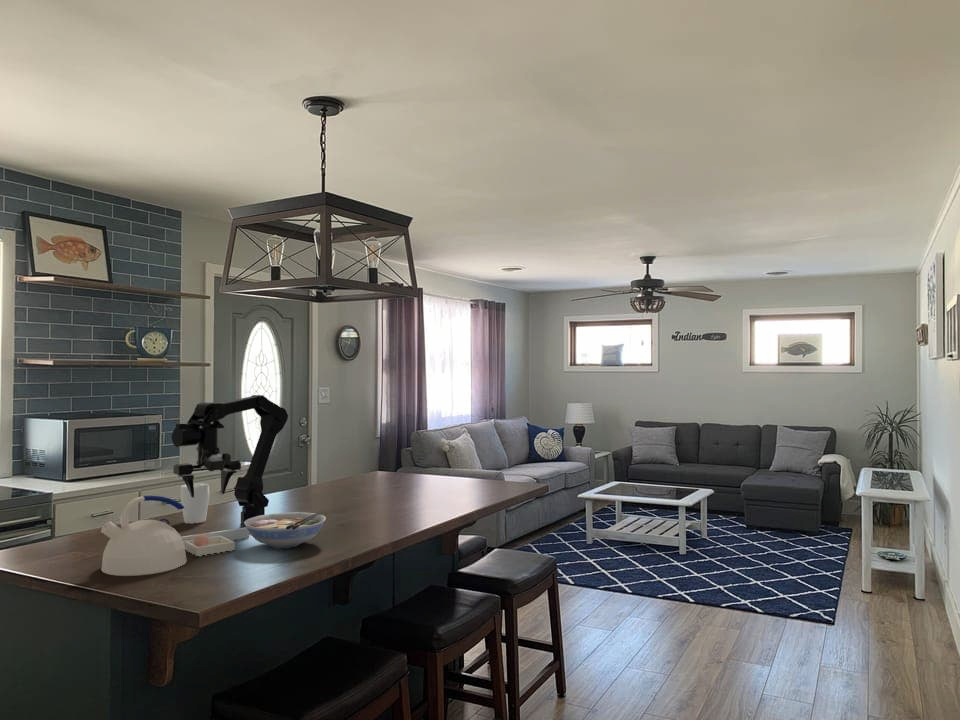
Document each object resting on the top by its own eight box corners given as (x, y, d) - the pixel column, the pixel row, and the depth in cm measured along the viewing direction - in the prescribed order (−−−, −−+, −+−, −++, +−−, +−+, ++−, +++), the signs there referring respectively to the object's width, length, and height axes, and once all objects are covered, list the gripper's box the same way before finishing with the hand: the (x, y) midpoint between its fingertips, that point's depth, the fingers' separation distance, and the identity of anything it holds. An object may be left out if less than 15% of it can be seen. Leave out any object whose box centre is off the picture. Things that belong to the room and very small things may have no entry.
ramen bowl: (267, 534, 229) (266, 507, 229) (339, 537, 226) (339, 509, 226) (226, 555, 205) (226, 525, 205) (306, 558, 201) (306, 527, 201)
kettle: (88, 566, 195) (88, 496, 195) (168, 552, 209) (168, 486, 209) (116, 582, 180) (116, 506, 180) (200, 565, 195) (200, 495, 195)
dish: (220, 543, 218) (220, 535, 218) (234, 550, 210) (234, 541, 210) (183, 549, 211) (183, 541, 211) (196, 556, 203) (196, 547, 203)
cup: (174, 523, 247) (174, 486, 248) (196, 518, 255) (196, 482, 256) (193, 525, 243) (193, 488, 243) (215, 520, 251) (215, 484, 251)
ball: (208, 536, 212) (196, 531, 210) (214, 538, 209) (201, 533, 207) (201, 550, 211) (189, 545, 209) (207, 552, 208) (194, 547, 206)
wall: (247, 537, 226) (247, 527, 226) (248, 537, 225) (248, 527, 225) (178, 547, 213) (178, 537, 213) (180, 548, 213) (180, 537, 213)
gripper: (185, 448, 217) (185, 502, 217) (248, 443, 229) (248, 495, 229) (172, 445, 226) (172, 497, 226) (233, 441, 238) (234, 491, 237)
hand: (207, 495), depth 229 cm, fingers open, 9 cm apart
